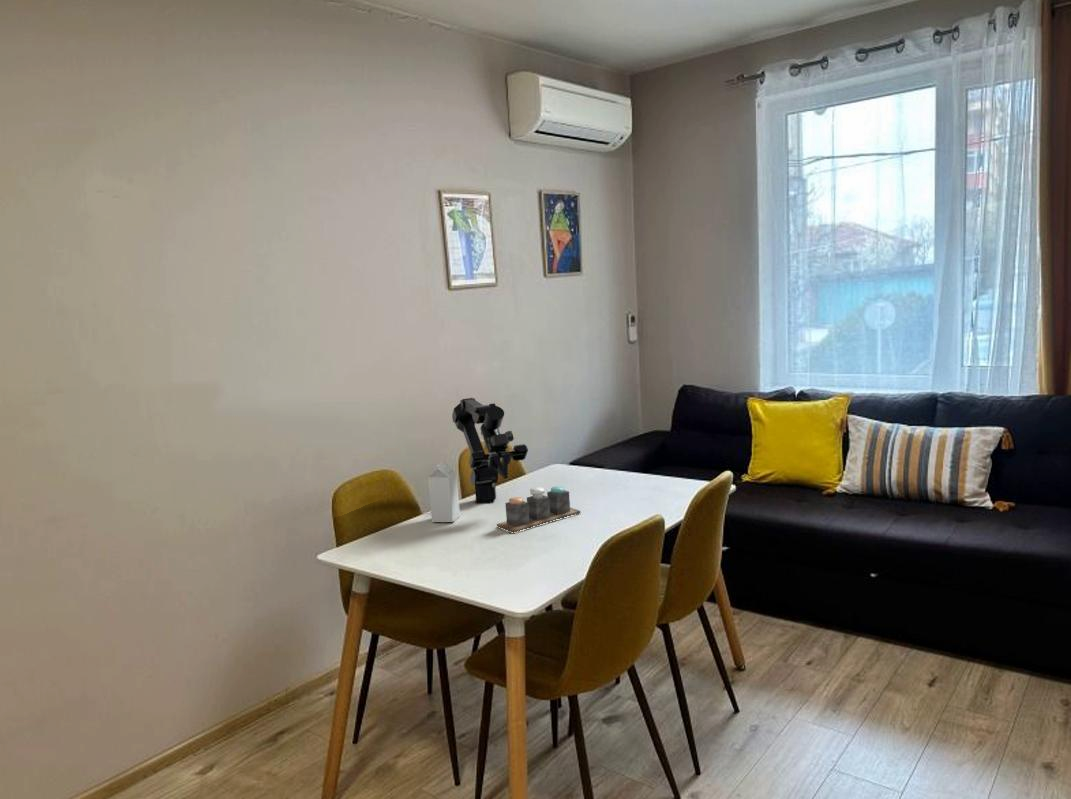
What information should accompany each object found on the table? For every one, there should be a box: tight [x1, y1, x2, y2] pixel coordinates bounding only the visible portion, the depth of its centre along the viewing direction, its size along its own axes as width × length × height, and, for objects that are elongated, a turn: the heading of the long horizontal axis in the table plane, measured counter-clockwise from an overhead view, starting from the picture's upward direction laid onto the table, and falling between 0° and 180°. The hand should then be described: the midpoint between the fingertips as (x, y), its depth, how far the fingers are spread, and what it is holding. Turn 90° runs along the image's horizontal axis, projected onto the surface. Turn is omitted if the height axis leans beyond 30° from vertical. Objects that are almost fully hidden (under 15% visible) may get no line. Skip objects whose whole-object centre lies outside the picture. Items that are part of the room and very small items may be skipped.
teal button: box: [550, 485, 566, 494], centre depth 230 cm, size 4×4×4 cm
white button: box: [529, 486, 545, 499], centre depth 225 cm, size 4×4×4 cm
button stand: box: [496, 490, 581, 534], centre depth 226 cm, size 26×9×8 cm, turn 126°
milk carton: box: [427, 460, 461, 523], centre depth 232 cm, size 7×7×19 cm
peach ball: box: [508, 496, 525, 505], centre depth 221 cm, size 4×4×4 cm
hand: (506, 478), depth 228 cm, fingers closed
